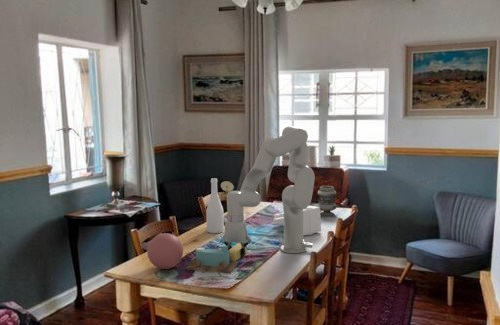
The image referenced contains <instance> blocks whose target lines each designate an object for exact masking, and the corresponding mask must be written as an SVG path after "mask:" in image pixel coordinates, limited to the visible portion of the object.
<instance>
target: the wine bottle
mask: <svg viewBox="0 0 500 325" xmlns="http://www.w3.org/2000/svg"><path fill="white" fill-rule="evenodd" d="M210 185H211V187H210V188H211V189H210V190H211V191H210V192H211V193H210V198H209V200H208V204H207V207H206V211H205V213H206V214H205V215H206V231H207V232H208V233H209V234H220V233H223V232H224V231H225V222H224V216H225V214H224V207H223V205H222V202H221V198H220V196H219V193H218V178H216V177H214V178H210Z"/></svg>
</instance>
